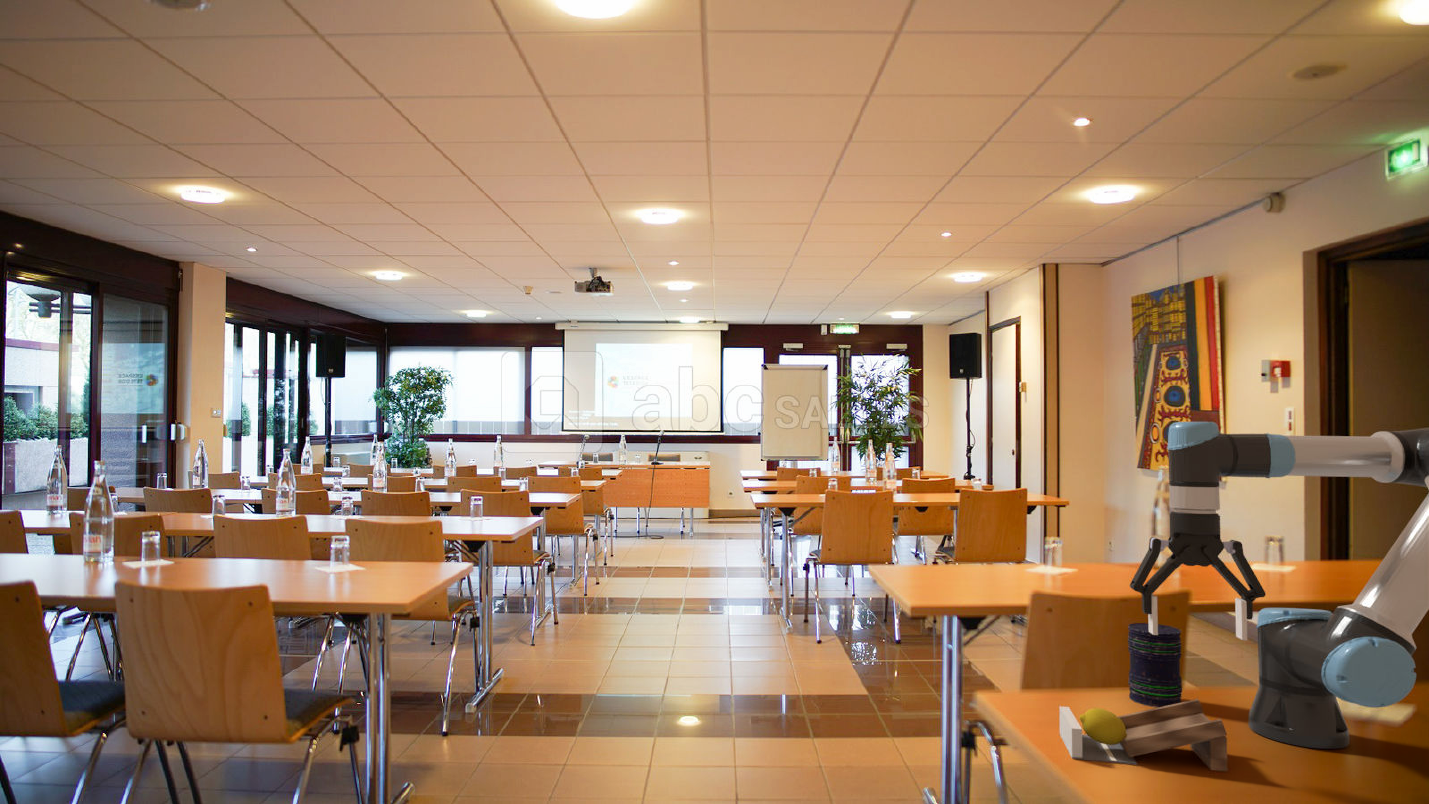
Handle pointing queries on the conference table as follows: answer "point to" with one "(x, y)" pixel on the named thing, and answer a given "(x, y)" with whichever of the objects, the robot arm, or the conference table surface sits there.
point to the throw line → (1108, 752)
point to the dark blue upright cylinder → (1154, 665)
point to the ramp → (1176, 732)
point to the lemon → (1103, 726)
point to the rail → (1070, 732)
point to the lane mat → (1103, 752)
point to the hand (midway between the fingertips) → (1196, 636)
